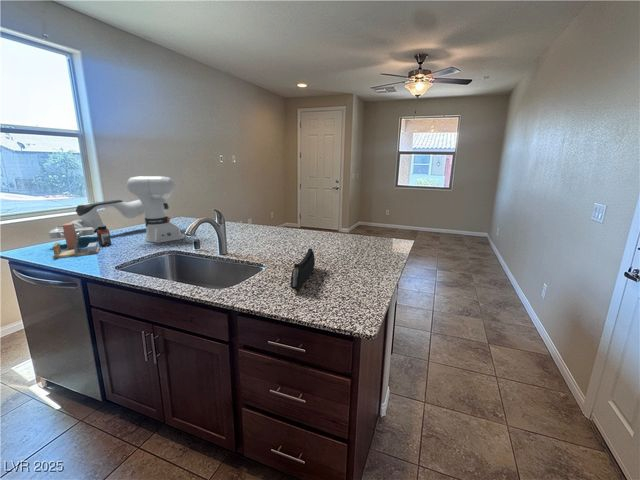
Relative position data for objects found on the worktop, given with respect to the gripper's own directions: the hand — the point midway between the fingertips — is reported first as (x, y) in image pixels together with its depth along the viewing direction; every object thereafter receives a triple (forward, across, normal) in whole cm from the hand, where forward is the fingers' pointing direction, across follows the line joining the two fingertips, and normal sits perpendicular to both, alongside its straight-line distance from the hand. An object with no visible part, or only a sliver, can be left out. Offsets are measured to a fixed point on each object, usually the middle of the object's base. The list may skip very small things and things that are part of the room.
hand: (70, 235), depth 172 cm
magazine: (+100, -95, -8) cm, 138 cm away
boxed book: (-1, 0, -8) cm, 8 cm away
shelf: (+12, -4, -8) cm, 14 cm away
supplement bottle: (-2, -15, -8) cm, 17 cm away
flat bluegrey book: (+12, -11, -6) cm, 17 cm away
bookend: (+13, -6, -6) cm, 15 cm away
